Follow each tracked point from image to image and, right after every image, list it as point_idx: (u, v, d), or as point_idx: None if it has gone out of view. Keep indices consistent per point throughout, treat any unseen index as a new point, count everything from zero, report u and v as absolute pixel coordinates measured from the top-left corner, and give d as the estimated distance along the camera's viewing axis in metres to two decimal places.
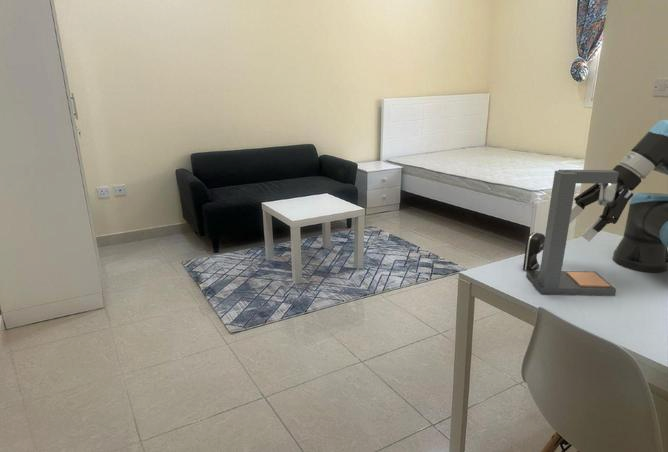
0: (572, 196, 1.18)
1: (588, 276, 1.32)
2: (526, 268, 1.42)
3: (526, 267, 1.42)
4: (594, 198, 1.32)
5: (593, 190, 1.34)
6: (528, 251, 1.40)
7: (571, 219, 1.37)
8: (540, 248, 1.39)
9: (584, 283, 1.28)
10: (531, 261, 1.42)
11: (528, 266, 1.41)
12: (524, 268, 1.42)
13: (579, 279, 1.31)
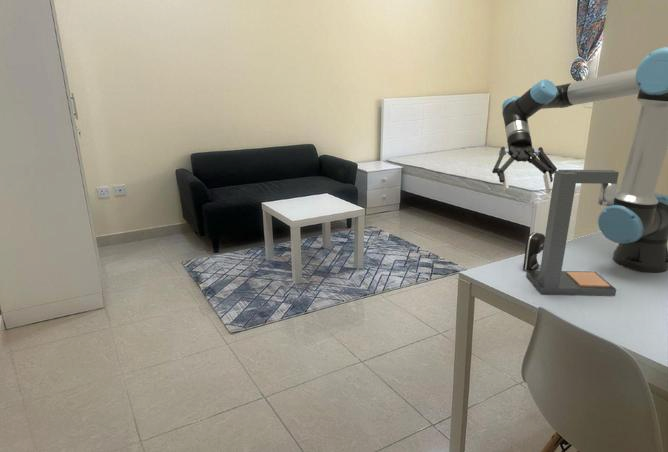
0: (572, 196, 1.18)
1: (588, 276, 1.32)
2: (526, 268, 1.42)
3: (526, 267, 1.42)
4: (535, 163, 1.52)
5: (541, 159, 1.53)
6: (528, 251, 1.40)
7: (547, 183, 1.48)
8: (540, 248, 1.39)
9: (584, 283, 1.28)
10: (531, 261, 1.42)
11: (528, 266, 1.41)
12: (524, 268, 1.42)
13: (579, 279, 1.31)
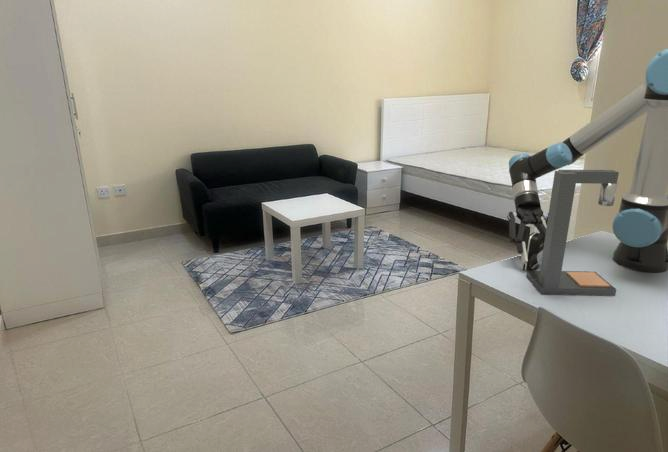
0: (572, 196, 1.18)
1: (588, 276, 1.32)
2: (526, 268, 1.42)
3: (526, 267, 1.42)
4: (539, 228, 1.44)
5: None
6: (528, 251, 1.40)
7: None
8: (540, 248, 1.39)
9: (584, 283, 1.28)
10: (531, 261, 1.42)
11: (528, 266, 1.41)
12: (524, 268, 1.42)
13: (579, 279, 1.31)
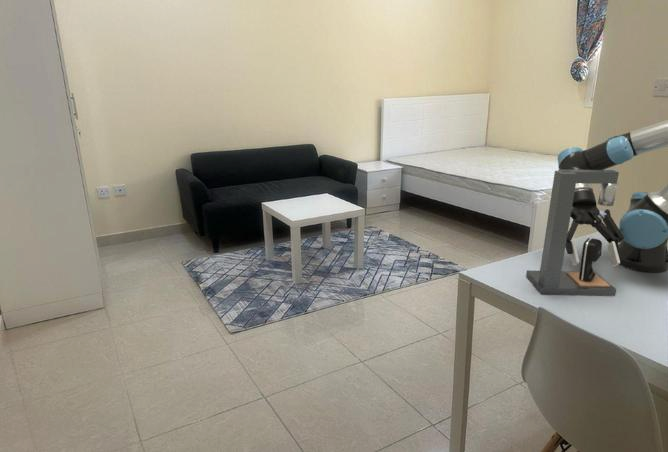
0: (572, 196, 1.18)
1: None
2: (583, 278, 1.29)
3: (582, 276, 1.29)
4: (599, 228, 1.31)
5: (607, 224, 1.32)
6: (585, 259, 1.27)
7: (614, 256, 1.26)
8: (598, 255, 1.27)
9: (584, 283, 1.28)
10: (588, 270, 1.29)
11: (585, 275, 1.28)
12: (580, 278, 1.29)
13: (579, 279, 1.31)
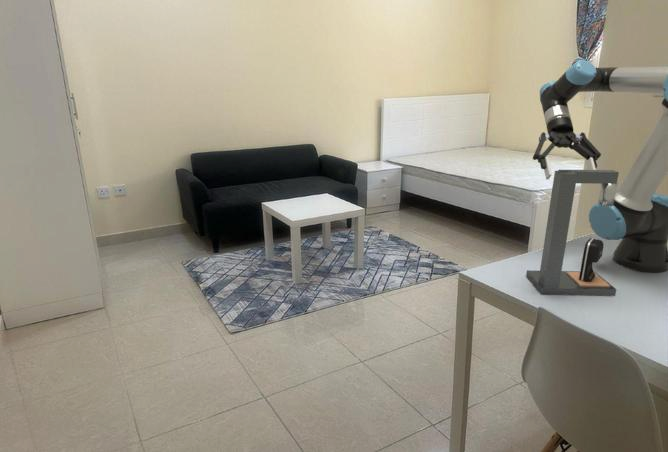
0: (572, 196, 1.18)
1: None
2: (583, 278, 1.29)
3: (583, 276, 1.29)
4: (577, 149, 1.46)
5: (584, 145, 1.47)
6: (587, 260, 1.27)
7: None
8: (599, 256, 1.27)
9: (584, 283, 1.28)
10: (588, 270, 1.29)
11: (585, 276, 1.28)
12: (581, 278, 1.29)
13: None
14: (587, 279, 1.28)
